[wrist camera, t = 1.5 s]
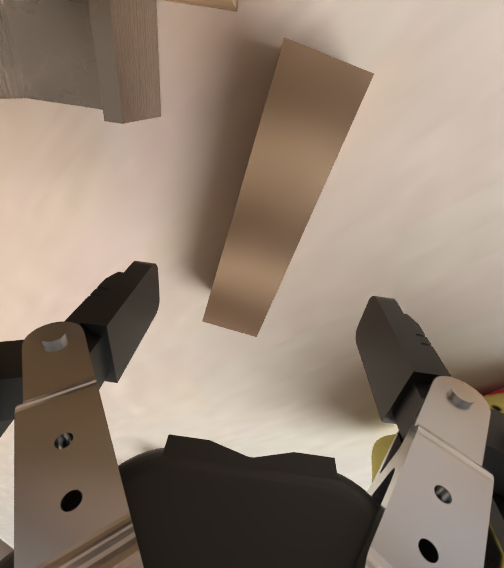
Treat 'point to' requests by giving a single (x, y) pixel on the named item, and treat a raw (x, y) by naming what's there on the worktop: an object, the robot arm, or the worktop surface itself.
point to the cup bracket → (82, 55)
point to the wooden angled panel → (212, 3)
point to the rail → (283, 180)
